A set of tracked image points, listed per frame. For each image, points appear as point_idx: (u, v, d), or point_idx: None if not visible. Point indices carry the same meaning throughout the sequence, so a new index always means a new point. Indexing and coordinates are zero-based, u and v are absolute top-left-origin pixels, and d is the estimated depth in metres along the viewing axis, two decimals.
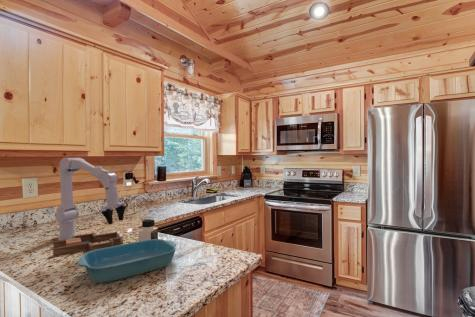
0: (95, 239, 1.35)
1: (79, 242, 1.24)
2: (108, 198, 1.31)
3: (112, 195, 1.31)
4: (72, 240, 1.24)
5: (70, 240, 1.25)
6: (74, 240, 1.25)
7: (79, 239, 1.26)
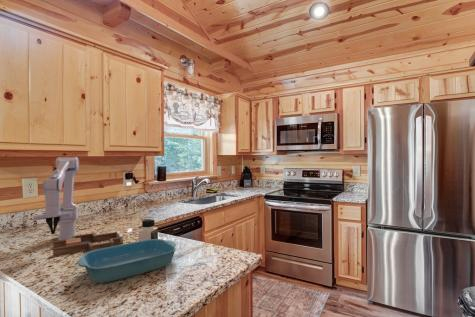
0: (95, 239, 1.35)
1: (79, 242, 1.24)
2: (45, 207, 1.19)
3: (46, 204, 1.18)
4: (72, 240, 1.24)
5: (70, 240, 1.25)
6: (74, 240, 1.25)
7: (79, 239, 1.26)
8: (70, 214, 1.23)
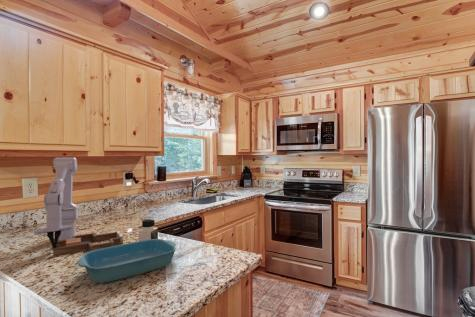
0: (95, 239, 1.35)
1: (79, 242, 1.24)
2: (46, 221, 1.19)
3: (47, 219, 1.18)
4: (72, 240, 1.24)
5: (70, 240, 1.25)
6: (74, 240, 1.25)
7: (79, 239, 1.26)
8: (71, 227, 1.24)
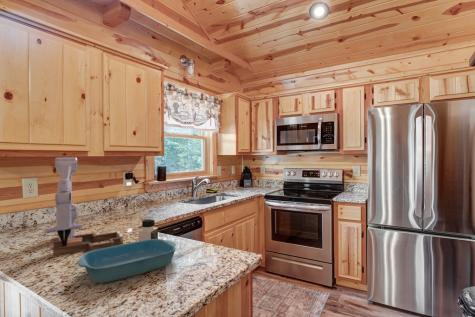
0: (95, 239, 1.35)
1: (80, 241, 1.24)
2: (56, 219, 1.21)
3: (58, 218, 1.20)
4: (73, 240, 1.25)
5: (71, 239, 1.25)
6: (75, 239, 1.25)
7: (80, 238, 1.27)
8: (81, 226, 1.26)
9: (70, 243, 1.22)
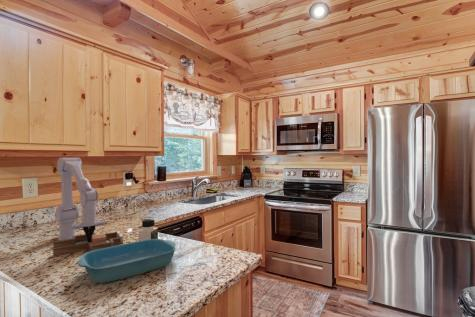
0: None
1: (104, 238, 1.30)
2: (82, 216, 1.27)
3: (87, 215, 1.26)
4: (98, 236, 1.30)
5: (96, 236, 1.31)
6: (99, 236, 1.31)
7: (104, 235, 1.32)
8: (104, 223, 1.32)
9: (95, 239, 1.28)
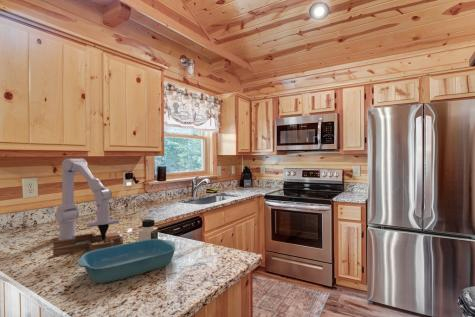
0: (95, 239, 1.35)
1: (117, 236, 1.33)
2: None
3: (102, 213, 1.30)
4: (111, 234, 1.34)
5: (109, 234, 1.34)
6: (112, 234, 1.34)
7: (117, 233, 1.36)
8: (118, 221, 1.35)
9: (108, 237, 1.31)
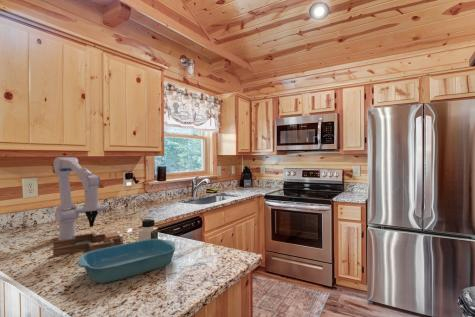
0: (95, 239, 1.35)
1: (117, 236, 1.33)
2: None
3: (89, 199, 1.27)
4: (111, 234, 1.34)
5: (109, 234, 1.34)
6: (112, 234, 1.34)
7: (117, 233, 1.36)
8: (106, 208, 1.33)
9: (108, 237, 1.31)
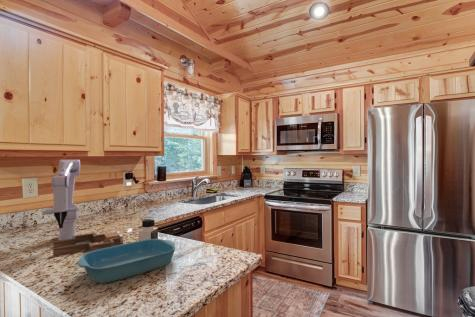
0: (95, 239, 1.35)
1: (117, 236, 1.33)
2: None
3: (54, 200, 1.24)
4: (111, 234, 1.34)
5: (109, 234, 1.34)
6: (112, 234, 1.34)
7: (117, 233, 1.36)
8: (77, 209, 1.30)
9: (109, 237, 1.31)
